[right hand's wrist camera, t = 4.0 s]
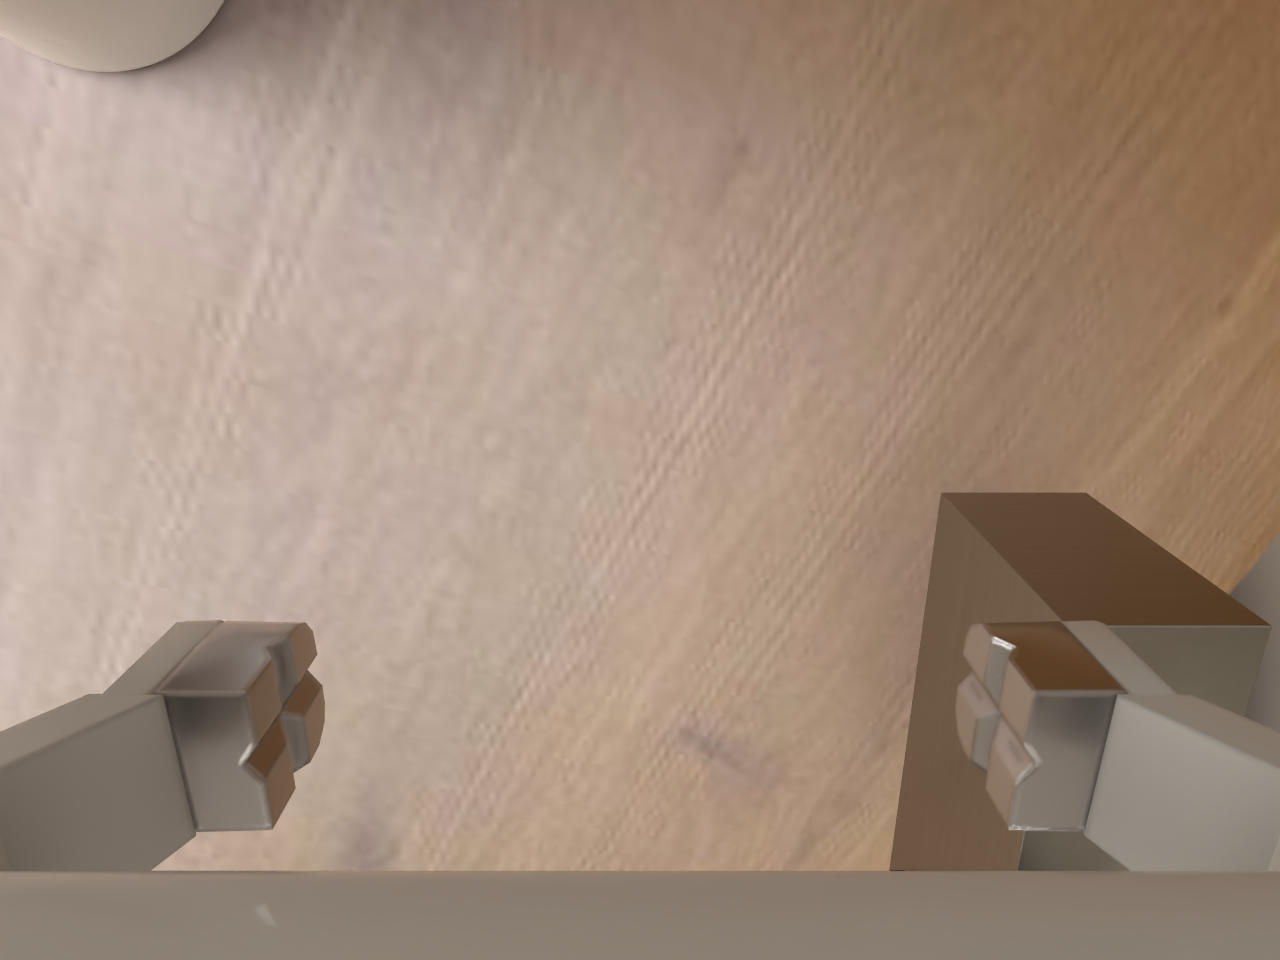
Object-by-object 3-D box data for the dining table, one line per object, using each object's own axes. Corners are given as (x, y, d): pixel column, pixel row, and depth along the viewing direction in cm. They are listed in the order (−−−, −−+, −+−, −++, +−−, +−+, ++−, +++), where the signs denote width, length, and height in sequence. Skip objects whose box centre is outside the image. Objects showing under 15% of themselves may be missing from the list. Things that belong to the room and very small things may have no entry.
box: (940, 492, 37) (1066, 625, 26) (1086, 492, 37) (1273, 625, 26) (882, 920, 46) (957, 1154, 35) (999, 920, 46) (1112, 1154, 35)
